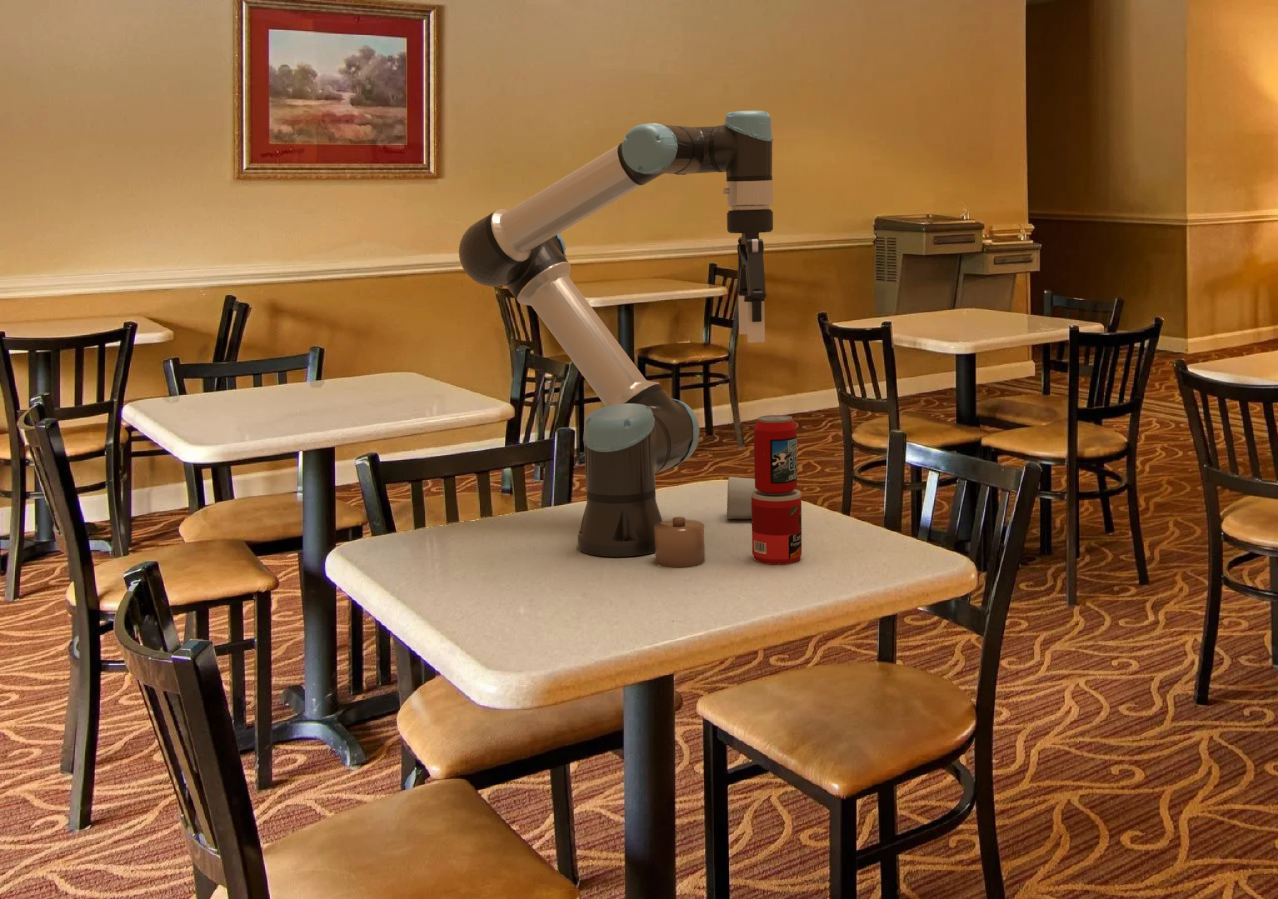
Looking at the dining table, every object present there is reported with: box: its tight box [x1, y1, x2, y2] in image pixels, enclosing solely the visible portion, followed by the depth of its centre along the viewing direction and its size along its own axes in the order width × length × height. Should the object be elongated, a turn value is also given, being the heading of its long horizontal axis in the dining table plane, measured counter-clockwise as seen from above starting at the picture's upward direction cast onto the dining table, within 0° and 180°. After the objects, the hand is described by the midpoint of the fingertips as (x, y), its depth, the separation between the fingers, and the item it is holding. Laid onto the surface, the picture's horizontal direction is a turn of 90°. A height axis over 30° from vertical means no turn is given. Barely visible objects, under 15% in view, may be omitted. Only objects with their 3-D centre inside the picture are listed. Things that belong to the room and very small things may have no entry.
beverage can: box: [753, 414, 798, 495], centre depth 209 cm, size 7×7×12 cm
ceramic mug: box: [726, 476, 756, 520], centre depth 240 cm, size 11×8×8 cm
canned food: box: [751, 488, 803, 565], centre depth 211 cm, size 8×8×11 cm
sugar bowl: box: [654, 516, 706, 569], centre depth 212 cm, size 8×8×7 cm
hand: (751, 338), depth 219 cm, fingers open, 13 cm apart
